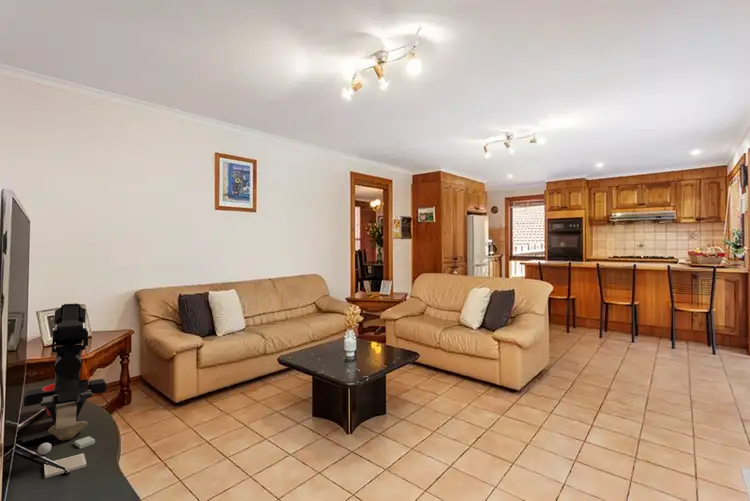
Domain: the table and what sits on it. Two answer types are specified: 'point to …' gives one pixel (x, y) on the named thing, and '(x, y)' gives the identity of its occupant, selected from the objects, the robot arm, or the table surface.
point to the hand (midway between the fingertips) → (65, 420)
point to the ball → (44, 448)
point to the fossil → (67, 430)
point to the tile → (84, 442)
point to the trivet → (65, 465)
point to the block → (66, 414)
